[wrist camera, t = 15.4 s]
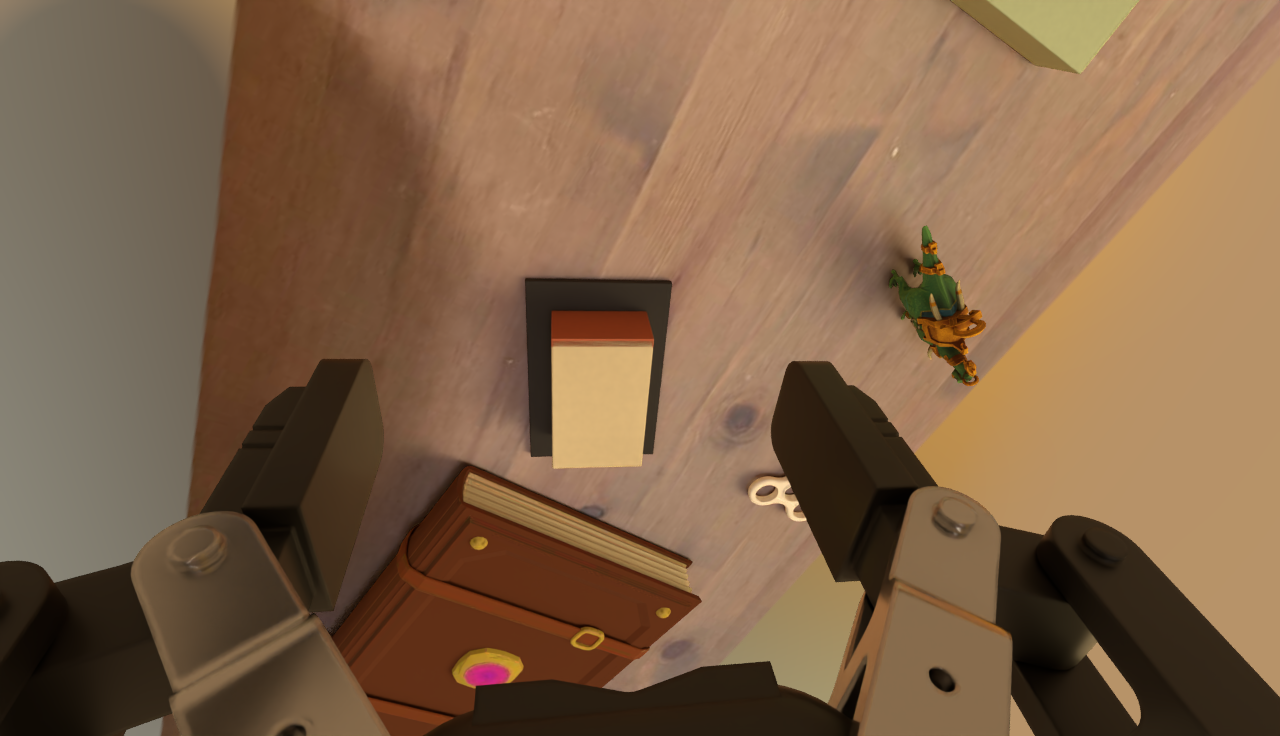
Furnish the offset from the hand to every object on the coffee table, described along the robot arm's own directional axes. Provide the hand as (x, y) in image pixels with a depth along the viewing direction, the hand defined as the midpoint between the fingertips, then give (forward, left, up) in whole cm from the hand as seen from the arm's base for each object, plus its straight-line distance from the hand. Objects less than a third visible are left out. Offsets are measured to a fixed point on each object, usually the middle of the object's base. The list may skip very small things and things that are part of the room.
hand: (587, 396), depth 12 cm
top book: (+8, -14, -24) cm, 29 cm away
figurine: (+24, +1, -25) cm, 34 cm away
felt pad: (+8, -14, -25) cm, 29 cm away
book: (+11, -42, -25) cm, 50 cm away
